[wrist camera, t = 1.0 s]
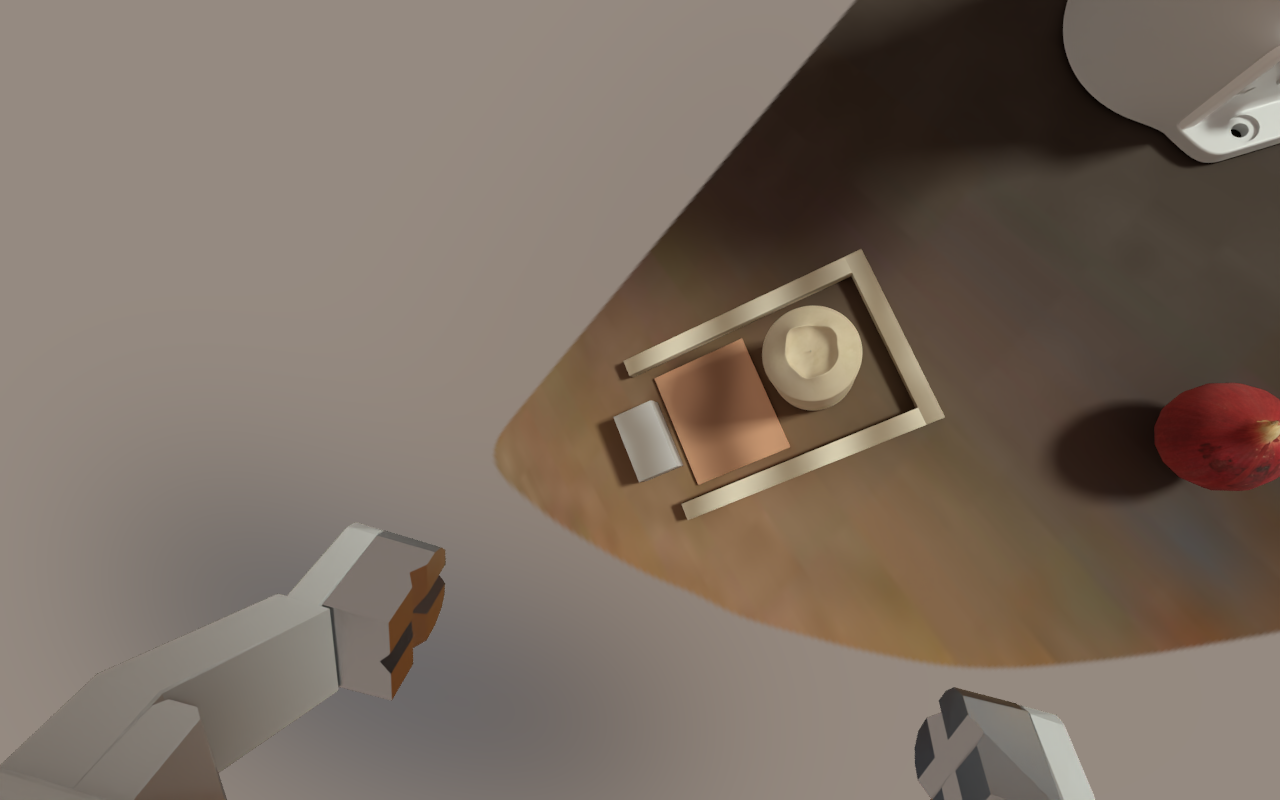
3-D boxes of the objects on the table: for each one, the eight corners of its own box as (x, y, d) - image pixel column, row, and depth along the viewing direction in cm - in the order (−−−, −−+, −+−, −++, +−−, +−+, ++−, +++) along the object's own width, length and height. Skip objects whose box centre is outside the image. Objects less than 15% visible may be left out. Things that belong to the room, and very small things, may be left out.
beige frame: (860, 253, 44) (862, 244, 42) (941, 418, 42) (947, 416, 40) (603, 373, 49) (594, 370, 47) (665, 528, 46) (658, 532, 45)
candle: (756, 367, 46) (739, 344, 36) (817, 316, 45) (816, 279, 35) (808, 427, 44) (804, 420, 35) (872, 375, 44) (886, 353, 34)
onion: (1248, 487, 37) (1359, 496, 30) (1133, 486, 39) (1209, 494, 31) (1240, 388, 38) (1347, 371, 30) (1126, 390, 39) (1200, 375, 32)
